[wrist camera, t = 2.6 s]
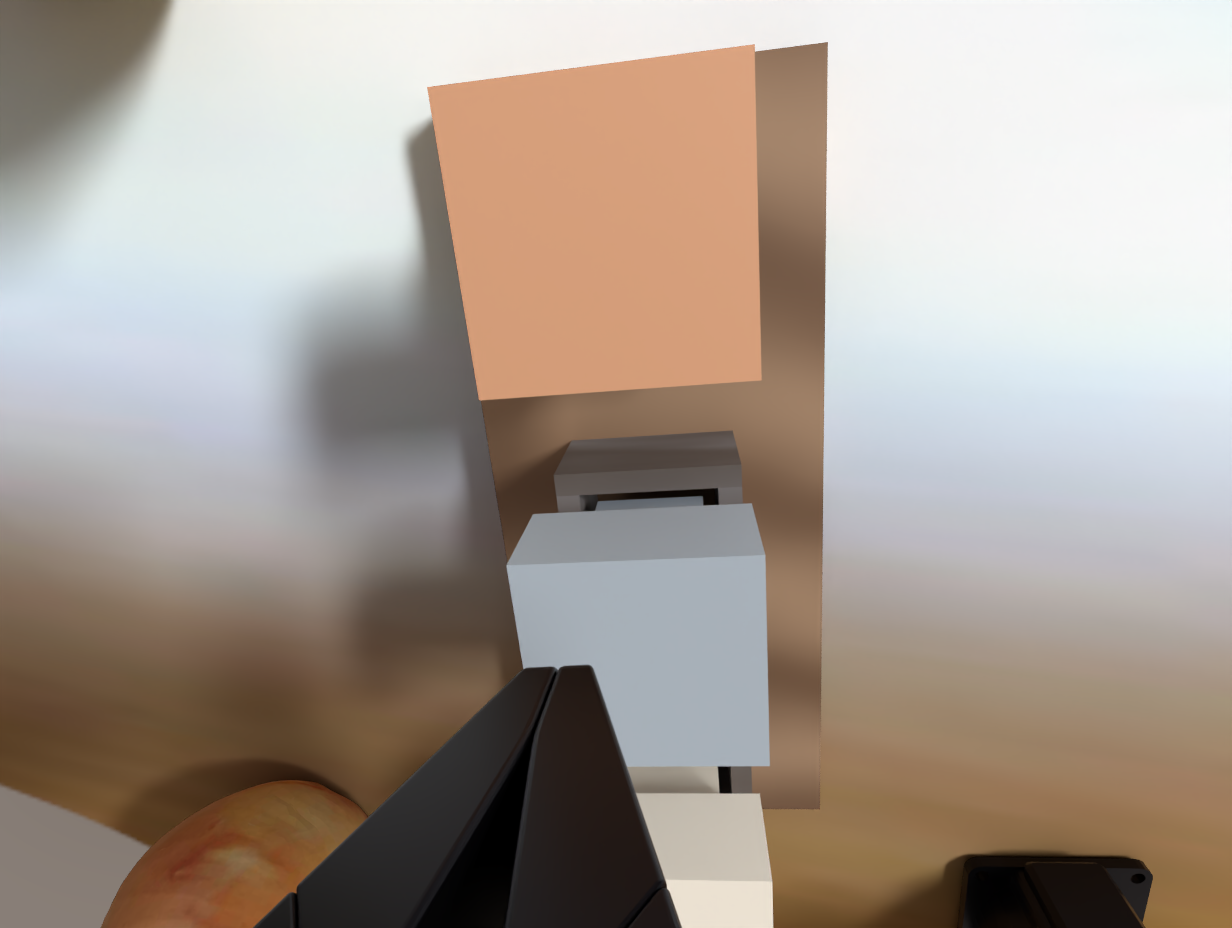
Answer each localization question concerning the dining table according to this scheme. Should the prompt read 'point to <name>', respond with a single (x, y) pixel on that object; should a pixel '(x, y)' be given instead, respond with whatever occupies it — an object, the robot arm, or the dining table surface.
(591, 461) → the walnut button board
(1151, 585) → the dining table surface
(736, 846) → the cream button
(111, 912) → the onion
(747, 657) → the slate button
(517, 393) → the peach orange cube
